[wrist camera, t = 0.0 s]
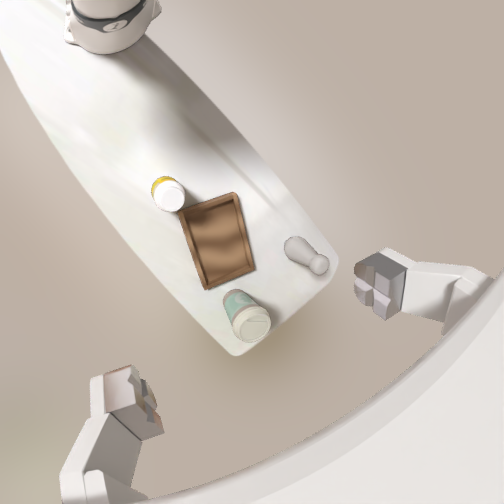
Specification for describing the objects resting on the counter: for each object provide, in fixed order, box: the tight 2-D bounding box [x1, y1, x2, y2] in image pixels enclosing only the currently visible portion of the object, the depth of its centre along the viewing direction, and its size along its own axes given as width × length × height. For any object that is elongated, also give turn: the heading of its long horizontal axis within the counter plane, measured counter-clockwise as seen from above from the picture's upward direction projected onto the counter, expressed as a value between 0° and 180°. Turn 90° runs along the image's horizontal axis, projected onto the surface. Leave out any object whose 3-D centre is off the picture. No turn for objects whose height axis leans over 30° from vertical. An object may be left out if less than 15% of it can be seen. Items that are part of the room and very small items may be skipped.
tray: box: [177, 192, 255, 290], centre depth 60 cm, size 18×12×2 cm, turn 13°
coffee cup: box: [223, 289, 271, 343], centre depth 63 cm, size 9×8×12 cm
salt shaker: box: [284, 237, 329, 275], centre depth 64 cm, size 6×6×13 cm
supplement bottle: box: [151, 176, 185, 212], centre depth 48 cm, size 5×5×10 cm
